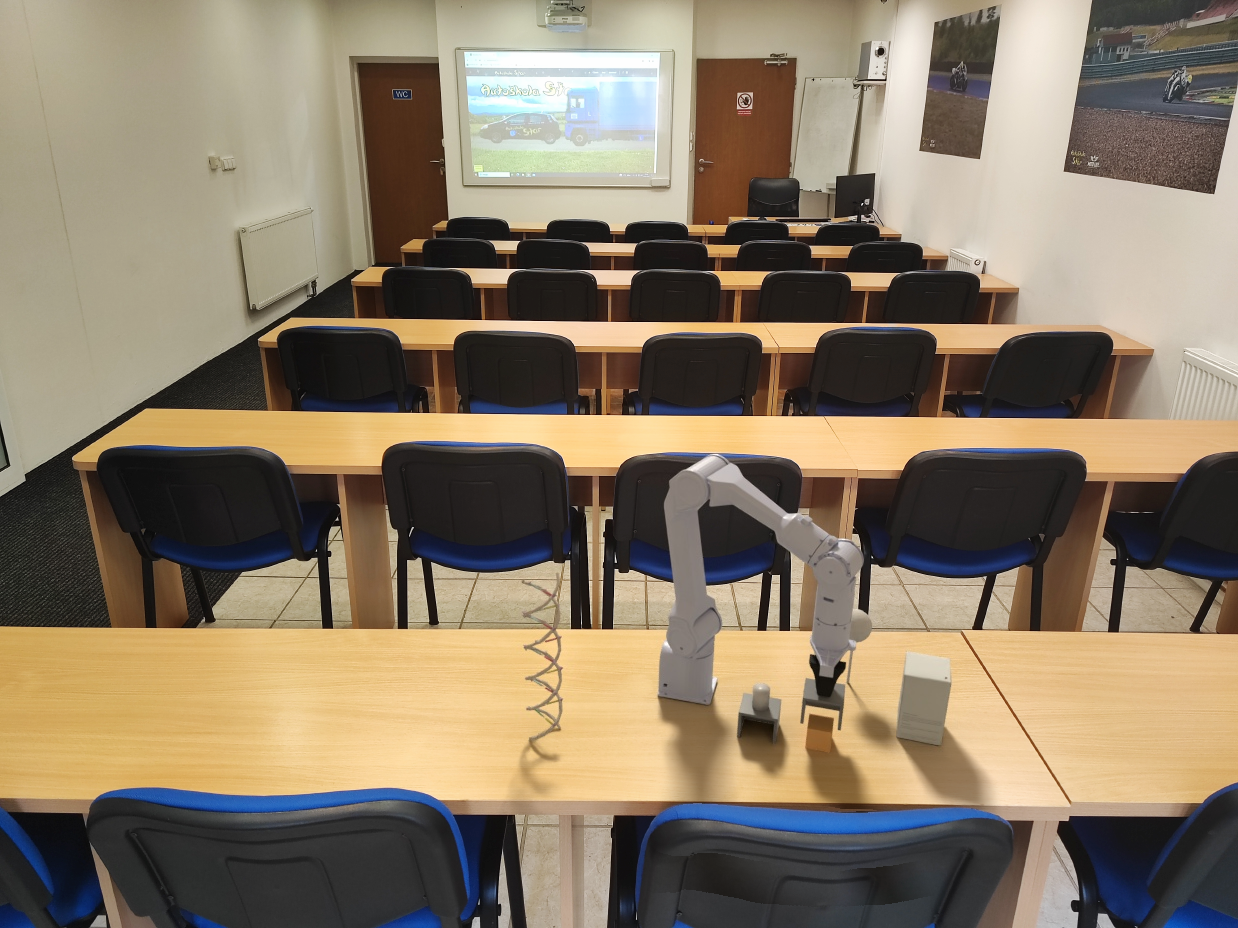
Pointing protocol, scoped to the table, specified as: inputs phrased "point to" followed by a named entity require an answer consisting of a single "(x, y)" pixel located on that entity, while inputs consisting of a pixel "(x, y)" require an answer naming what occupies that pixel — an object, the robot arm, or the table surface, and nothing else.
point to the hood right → (823, 699)
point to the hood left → (760, 708)
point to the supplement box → (924, 698)
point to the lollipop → (858, 631)
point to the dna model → (547, 656)
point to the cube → (819, 732)
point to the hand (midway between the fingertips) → (824, 688)
